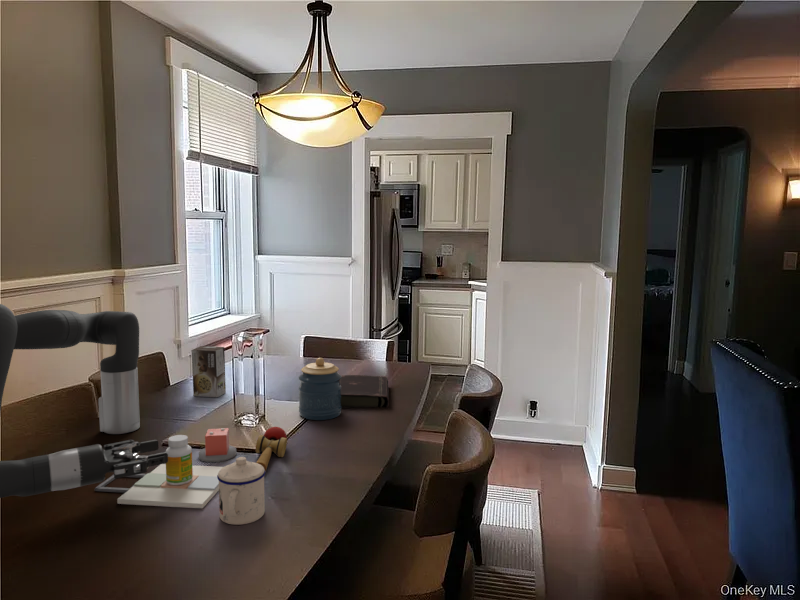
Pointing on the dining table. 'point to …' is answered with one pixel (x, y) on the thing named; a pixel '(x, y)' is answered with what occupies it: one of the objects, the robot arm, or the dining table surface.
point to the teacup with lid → (241, 492)
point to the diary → (364, 391)
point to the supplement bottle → (179, 461)
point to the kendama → (271, 445)
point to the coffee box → (208, 371)
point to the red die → (217, 446)
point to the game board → (169, 488)
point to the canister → (320, 391)
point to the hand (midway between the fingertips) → (162, 450)
